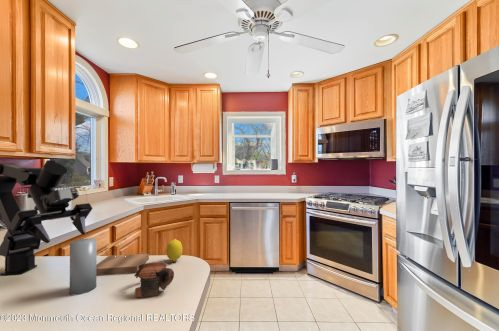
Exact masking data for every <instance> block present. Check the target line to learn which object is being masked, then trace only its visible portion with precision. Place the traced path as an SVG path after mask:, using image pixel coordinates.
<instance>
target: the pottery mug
mask: <svg viewBox="0 0 499 331" xmlns="http://www.w3.org/2000/svg"><path fill="white" fill-rule="evenodd" d="M167 265H168V264H167V262H162V261H161V262H159V261H156V262H155V261H154V262H153V261H152V262H146V263H145V264H142V265H139V270H138V271H137V272H136V273H134V275H133V276H134V278H136V279H138V278H139V279H140V280H139V282H140V286H139V287H138V286H137V287H135V289H134V291H135V292H134V293H135V294H134V295H135V298H141V297H156V296H158V295H159V291H160V289H161V290H163V291H164V290H165V289H167V288H168V286H170V284H171V283H172V281H173V279H174V278H175V272H174V270H173V269H172V268H169V267H167Z"/></svg>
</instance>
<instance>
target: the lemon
mask: <svg viewBox="0 0 499 331" xmlns="http://www.w3.org/2000/svg"><path fill="white" fill-rule="evenodd" d="M165 251H166V253H165V254H166V257H167V258H168V259H169V260H171V261H173V262H176V261H177V260H179V259H180V258H181V256H182V255H183V244H182V242H181V241H180V240H178V239H176V238H173V239H172V240H170V241H169V242H168V244H167V246H166V250H165Z"/></svg>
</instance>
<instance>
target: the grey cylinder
mask: <svg viewBox="0 0 499 331" xmlns="http://www.w3.org/2000/svg"><path fill="white" fill-rule="evenodd" d="M97 239H98V238H95V237H93V238H92V237H90V238H89V237H88V238H82V239H77V240H73V241H71V242H69V294H70V295H73V296H77V295H83V294H84V295H85V294H86V293H90V292H92V291H93V290H95V289H96V288H97V275H96V265H97V255H98V254H97V243H98V242H97Z"/></svg>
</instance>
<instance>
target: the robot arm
mask: <svg viewBox="0 0 499 331" xmlns="http://www.w3.org/2000/svg"><path fill="white" fill-rule="evenodd" d="M67 172H68V168H67V167H66V166H64V165H63V164H60V163H57V162H56V161H55V160H53V159H52V160H46V161H45V163H44V165H43V166H42V167H26V166H23V165H19V164H16V163H5V162H3V163H1V162H0V217H1V218H2V220H3V222H4V225H5V227H6V230H7V231H6V233H5V235H4V237H3V240H2V241H1V243H0V256H2V257H3V258H4V271H3V272H1V273H0V276H7V275H8V276H9V275H21V274H25V273H26V272H28V271H31V270H33V269H34V268H37V267H38V264H36V261H35V260H36V254H34V253H35V250H40V245H41V242H43V243H46V244H49V243H50V241H51V240H50V239H51V238H50V236H49V234H48V233H47V231H46V229H45V227H44V225H43V223H42V221H43V222H45V221H52V220H59V219H65V218H70V220H71V221H72V225H73V226H74V227H75V228H76V230H77V231H78V232H79V233H80V234H81V235H82V236H84V235H85V234H86V219H87V217H88V216H89V215H90V213H91V212H92V210H93V207H92V205H91V204H90V203H89V202H87V203H77V204H75V206H74V207H73V208H72V209H68V210H67V209H66V208H69V206H70V204H69V203H70V202H71V201H74V200H76V199H77V198H79V196H80V194H79V191H78V189H77V187H72V188H71V187H70V188H65V189H55V188H57V187H59V186H60V185H61V183H62V181H63V179H64V177H65V176H66V174H67ZM17 184H19V185H20V186H22V187H27V186H28V187H29V188H28V191H27V192H28V193H27V199H32V201H33V202H34V205H35V206H34V207H33V208H34V209H28V210H27V209H26V210H21V208H20V206H19V203H18V202H17V199H16V198H15V195H14V193H13V190H14V189H15V187H16V185H17Z"/></svg>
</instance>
